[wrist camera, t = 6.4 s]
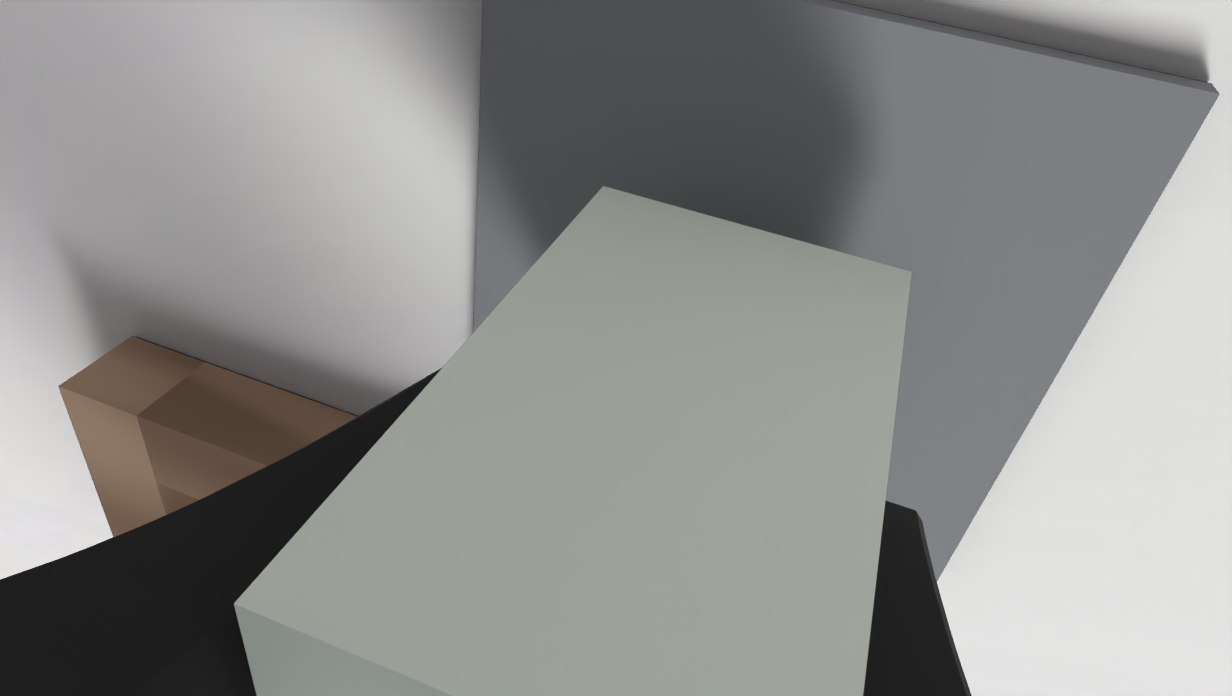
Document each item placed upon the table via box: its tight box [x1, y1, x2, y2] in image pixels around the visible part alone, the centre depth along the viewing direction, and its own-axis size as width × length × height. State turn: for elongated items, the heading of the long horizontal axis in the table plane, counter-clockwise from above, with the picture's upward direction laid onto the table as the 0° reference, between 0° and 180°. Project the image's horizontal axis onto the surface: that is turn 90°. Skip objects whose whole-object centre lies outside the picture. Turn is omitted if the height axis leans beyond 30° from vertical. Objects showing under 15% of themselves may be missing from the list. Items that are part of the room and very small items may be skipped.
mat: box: [473, 0, 1219, 582], centre depth 13 cm, size 9×9×1 cm
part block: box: [234, 186, 912, 696], centre depth 9 cm, size 4×4×7 cm
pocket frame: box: [58, 336, 357, 537], centre depth 20 cm, size 10×10×2 cm
